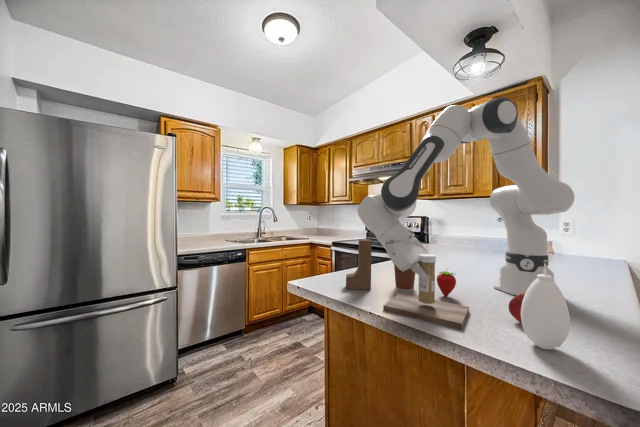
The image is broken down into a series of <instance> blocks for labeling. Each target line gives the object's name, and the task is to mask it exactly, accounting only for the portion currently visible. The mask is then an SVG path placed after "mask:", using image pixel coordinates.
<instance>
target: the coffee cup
mask: <svg viewBox="0 0 640 427" xmlns="http://www.w3.org/2000/svg"><path fill="white" fill-rule="evenodd" d="M391 263H392V264H393V265H394V269H393V270H394V282H395V283H394V284H395V289H396V290H398V291H399V292H413V291H414V289H415V280H416V273H415V272H413V271H412V270H411V269H410V268H409V269H407V270H405V271H404V272H403V271H401V270H400V269H398V267H397V266H396V265H395V264H394V262H393V261H392V260H391Z"/></svg>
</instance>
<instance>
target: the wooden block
mask: <svg viewBox="0 0 640 427" xmlns="http://www.w3.org/2000/svg"><path fill="white" fill-rule="evenodd" d="M357 255H358V256H357V258H358V259H357V260H358V261H357V268H356V270H355V271H354V272H353V273H347V274H346V275H345V289H347V290H356V289H358V290H360V291H361V290H362V291H371V290H372V240H371V239H369V238H366V239H364V238H363V239H362V238H359V239H358V254H357ZM358 290H357V291H358Z"/></svg>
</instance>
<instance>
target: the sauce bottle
mask: <svg viewBox="0 0 640 427" xmlns="http://www.w3.org/2000/svg"><path fill="white" fill-rule="evenodd" d="M566 301H567V300H566V299H565V296H564V294H563V292H562V291H561V289H560V288H559V286H558V284H556V282H555V280H554V281H553V277H552V276H550V275H547V273H546V263H545V264H544V273H543V274H538V275H537V279H536V280H534V281H533V282H532V284H531V285H530V286H529V288H528V289H527V291H526V293H525V295H524V298H523V301H522V306H521V321H522V323H521V326H522V327H523V328H522V329H523V331H524V333H525V335H526V337H527V338H528V339H529V340H530V341H531V342H532V343H533V345H535V346H537V347H538V348H540V349H542V350H547V351H548V350H554V349H555V348H559V347H561V346H562V345H563V344H564V342H566V340H567V338H568V336H569V333H570V332H569V331H570V328H571V326H570V325H571V324H570V322H571V320H570V312H569V308H568V304H567V302H566Z"/></svg>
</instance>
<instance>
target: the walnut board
mask: <svg viewBox="0 0 640 427" xmlns="http://www.w3.org/2000/svg"><path fill="white" fill-rule="evenodd" d="M418 298H419V296H415V295H412V294H406V293H400V292H399V293H398V294H397V295H395V296H394V297H392V298H391V299H390V300H389V301H387V302H385V303H384V304H383V309H382V311H384V312H388V313H392V314H396V315H400V316H404V317H409V318H413V319H417V320H421V321H424V322H428V323H429V322H430V323H433V324H437V325H440V326H444V327H449V328H453V329H456V330H461V331H462V330H463V328H464V325H465V322H466V321H467V317H468V316H469V313H470V306H466V305H461V304H456V303H452V302H447V301H441V300H435V303H432V304H426V303H422V302H420V301H419V300H418Z"/></svg>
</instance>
